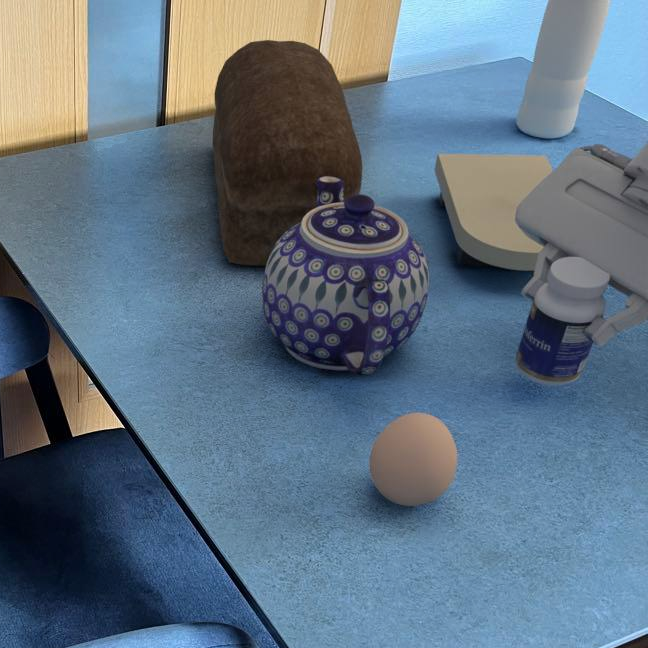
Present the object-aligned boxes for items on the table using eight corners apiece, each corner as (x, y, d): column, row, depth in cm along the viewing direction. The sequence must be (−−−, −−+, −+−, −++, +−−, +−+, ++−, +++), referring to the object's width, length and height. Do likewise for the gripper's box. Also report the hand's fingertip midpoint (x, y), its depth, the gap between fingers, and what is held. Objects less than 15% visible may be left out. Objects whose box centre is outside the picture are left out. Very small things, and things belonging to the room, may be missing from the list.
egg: (355, 513, 82) (371, 436, 77) (370, 462, 87) (386, 386, 81) (440, 532, 81) (463, 455, 75) (451, 479, 85) (473, 402, 79)
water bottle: (565, 144, 129) (633, -82, 112) (508, 133, 132) (565, -89, 114) (577, 123, 133) (644, -97, 116) (522, 113, 136) (579, -104, 118)
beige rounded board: (428, 194, 120) (437, 153, 117) (534, 197, 120) (546, 155, 116) (458, 295, 105) (469, 251, 101) (579, 298, 104) (594, 254, 101)
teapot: (440, 421, 90) (480, 271, 80) (270, 422, 91) (287, 273, 80) (389, 273, 108) (417, 134, 98) (247, 274, 109) (259, 136, 98)
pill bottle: (501, 356, 94) (531, 257, 87) (559, 346, 94) (593, 248, 87) (534, 393, 90) (567, 293, 83) (593, 383, 90) (631, 283, 83)
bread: (323, 144, 131) (340, 10, 120) (357, 275, 108) (383, 125, 97) (207, 144, 131) (214, 11, 120) (218, 275, 109) (227, 126, 97)
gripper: (574, 117, 88) (461, 249, 92) (785, 217, 76) (644, 366, 79) (595, 155, 93) (487, 280, 97) (798, 256, 80) (664, 395, 84)
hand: (559, 320), depth 88 cm, fingers closed on pill bottle, 6 cm apart
